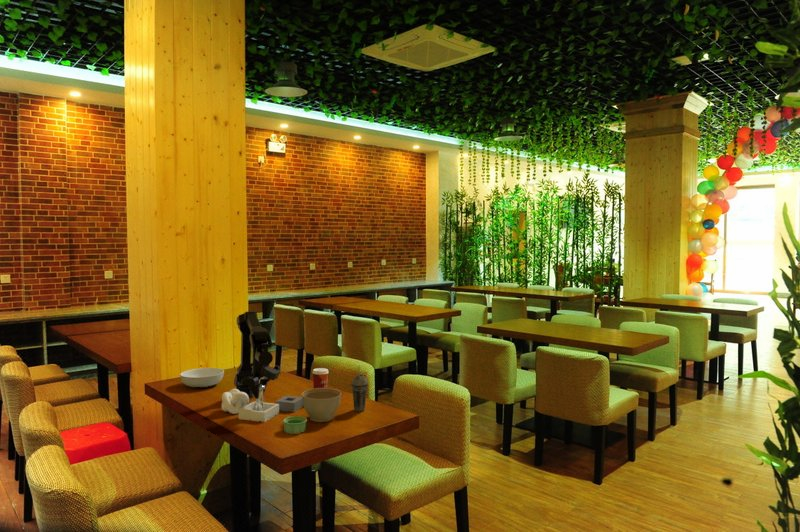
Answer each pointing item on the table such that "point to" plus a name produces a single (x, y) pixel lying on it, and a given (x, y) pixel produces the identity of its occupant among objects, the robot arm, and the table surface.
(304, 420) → the ramekin
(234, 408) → the white knot sculpture
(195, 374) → the serving bowl
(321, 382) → the paper cup
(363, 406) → the beverage cup
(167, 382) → the table surface
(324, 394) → the planter bowl
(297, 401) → the block
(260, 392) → the pin
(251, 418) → the tray
